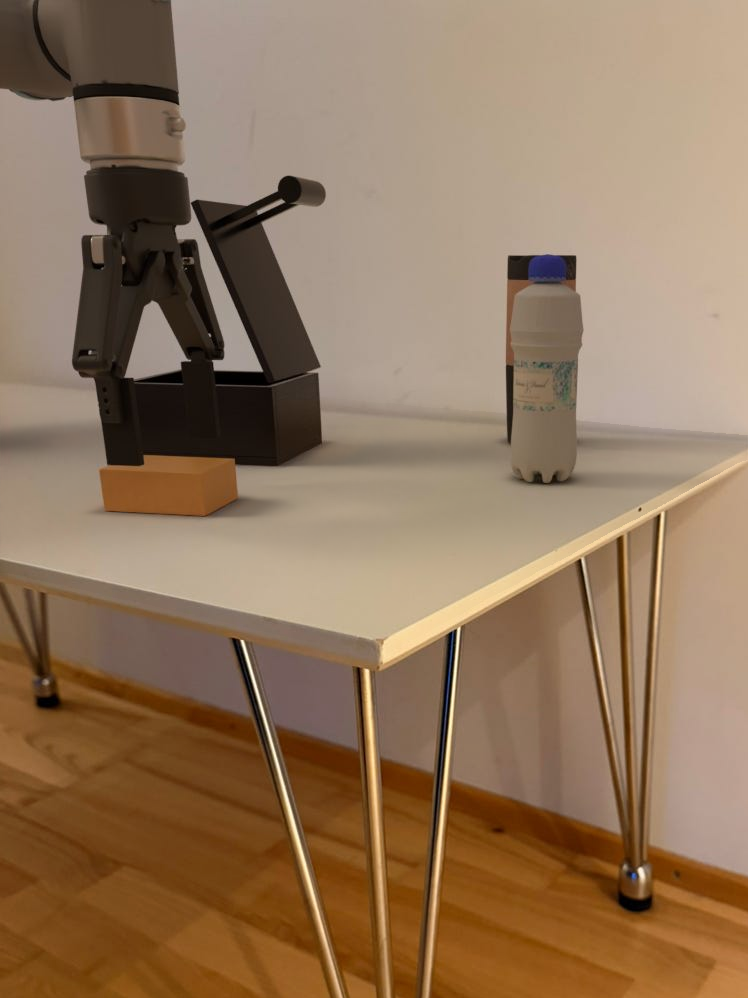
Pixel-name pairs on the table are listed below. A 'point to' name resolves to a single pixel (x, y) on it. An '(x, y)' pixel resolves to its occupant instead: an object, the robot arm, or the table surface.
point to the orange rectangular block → (170, 485)
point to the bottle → (545, 372)
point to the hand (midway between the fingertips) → (168, 450)
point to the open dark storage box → (233, 417)
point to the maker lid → (262, 275)
